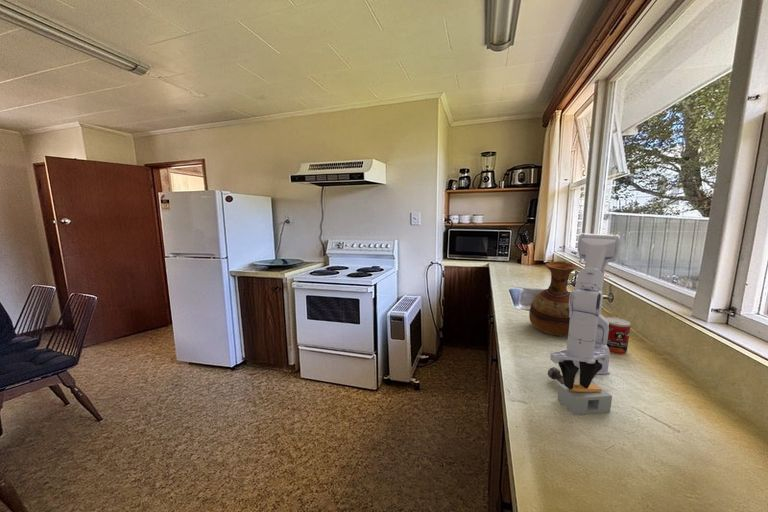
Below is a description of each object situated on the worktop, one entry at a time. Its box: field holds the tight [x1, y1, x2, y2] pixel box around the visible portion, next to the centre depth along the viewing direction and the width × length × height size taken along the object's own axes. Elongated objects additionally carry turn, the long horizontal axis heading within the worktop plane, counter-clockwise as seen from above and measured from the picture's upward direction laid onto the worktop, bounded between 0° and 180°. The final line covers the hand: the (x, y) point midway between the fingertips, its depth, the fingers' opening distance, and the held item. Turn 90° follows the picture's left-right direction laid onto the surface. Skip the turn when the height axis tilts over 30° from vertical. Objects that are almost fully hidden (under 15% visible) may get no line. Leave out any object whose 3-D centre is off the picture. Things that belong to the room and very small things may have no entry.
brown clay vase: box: [528, 260, 577, 336], centre depth 124 cm, size 20×20×30 cm
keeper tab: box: [570, 382, 603, 392], centre depth 76 cm, size 8×3×1 cm, turn 96°
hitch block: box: [556, 381, 613, 416], centre depth 77 cm, size 10×6×5 cm, turn 96°
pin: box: [547, 367, 564, 384], centre depth 83 cm, size 11×3×3 cm, turn 6°
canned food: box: [605, 316, 631, 355], centre depth 108 cm, size 8×8×11 cm
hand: (576, 386), depth 76 cm, fingers open, 4 cm apart
